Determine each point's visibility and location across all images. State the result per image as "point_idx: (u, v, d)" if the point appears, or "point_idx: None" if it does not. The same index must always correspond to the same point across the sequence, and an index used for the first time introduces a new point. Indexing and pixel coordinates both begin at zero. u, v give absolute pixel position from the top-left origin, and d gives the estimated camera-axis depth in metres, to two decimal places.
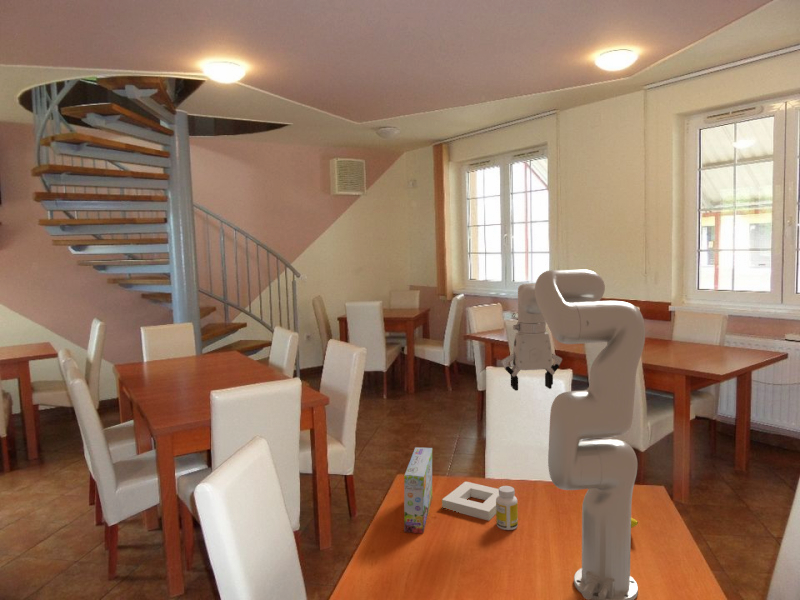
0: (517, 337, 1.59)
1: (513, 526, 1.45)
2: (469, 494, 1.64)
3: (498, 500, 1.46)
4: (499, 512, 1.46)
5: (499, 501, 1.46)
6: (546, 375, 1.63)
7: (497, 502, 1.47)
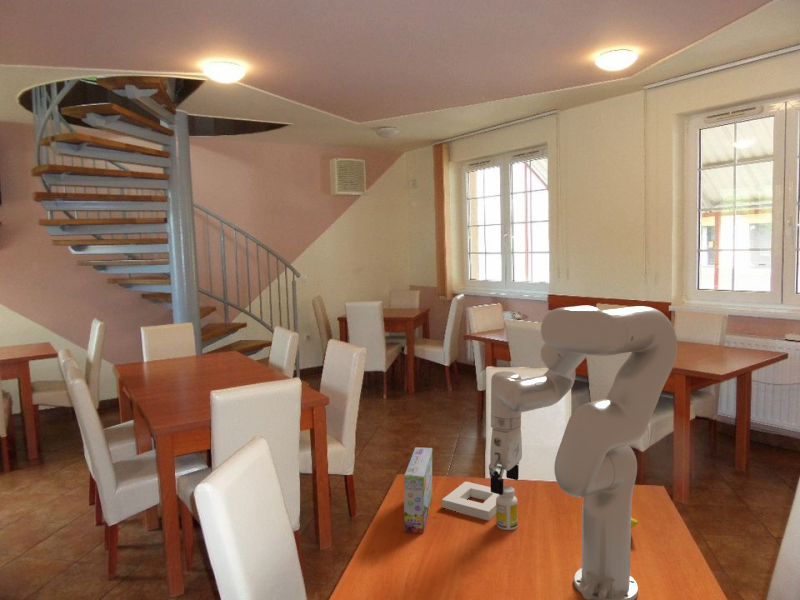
0: (503, 435, 1.41)
1: (513, 526, 1.45)
2: (469, 494, 1.64)
3: (498, 500, 1.46)
4: (499, 512, 1.46)
5: (499, 501, 1.46)
6: None
7: (497, 502, 1.47)
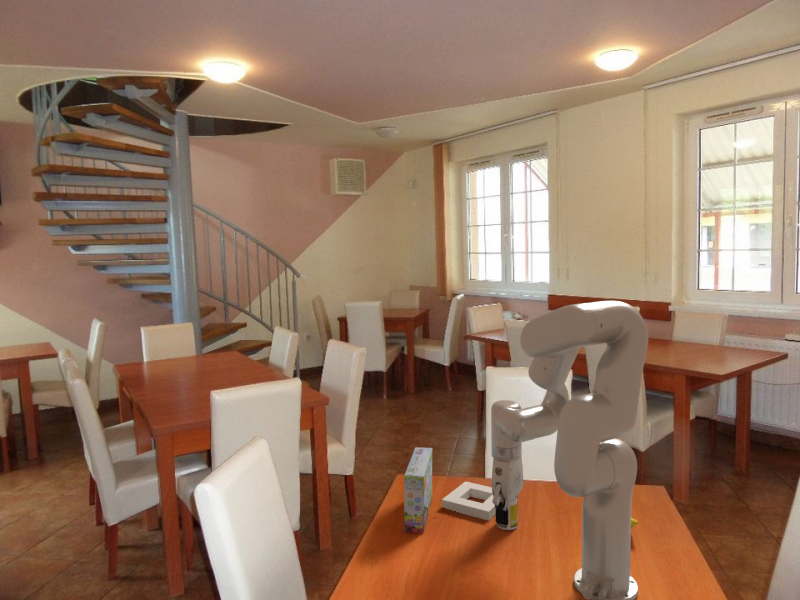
0: (504, 465, 1.42)
1: (513, 526, 1.45)
2: (469, 494, 1.64)
3: None
4: None
5: None
6: None
7: None
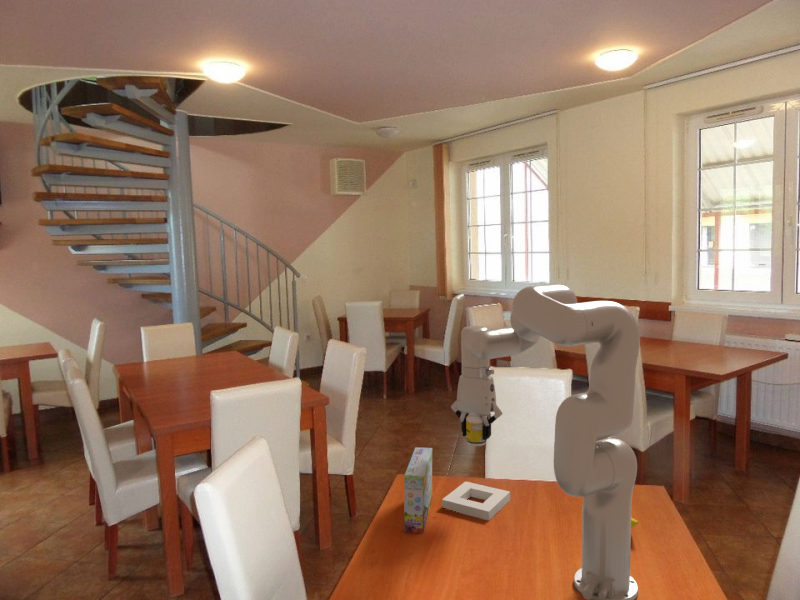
0: None
1: None
2: (469, 494, 1.64)
3: (480, 419, 1.55)
4: None
5: (482, 419, 1.56)
6: None
7: (480, 422, 1.55)
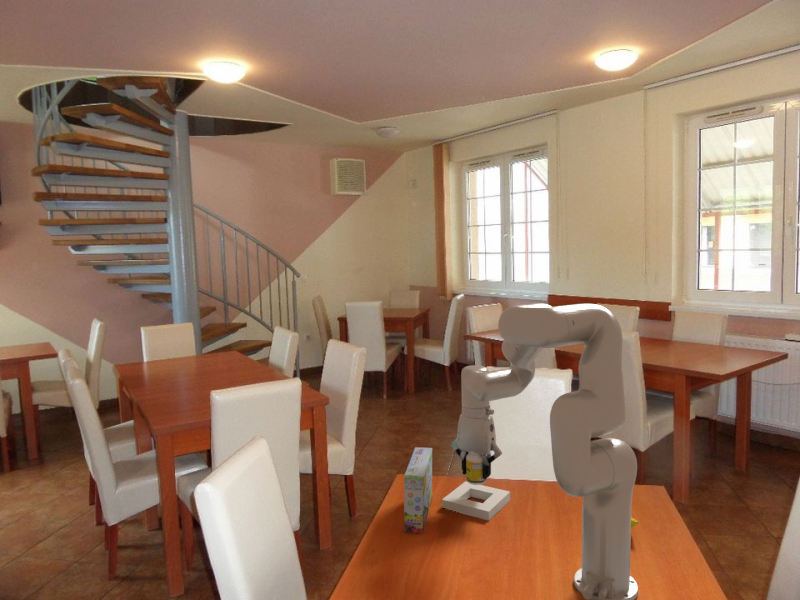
0: (492, 420, 1.57)
1: None
2: (469, 494, 1.64)
3: (480, 459, 1.57)
4: None
5: (482, 459, 1.57)
6: None
7: (480, 461, 1.57)
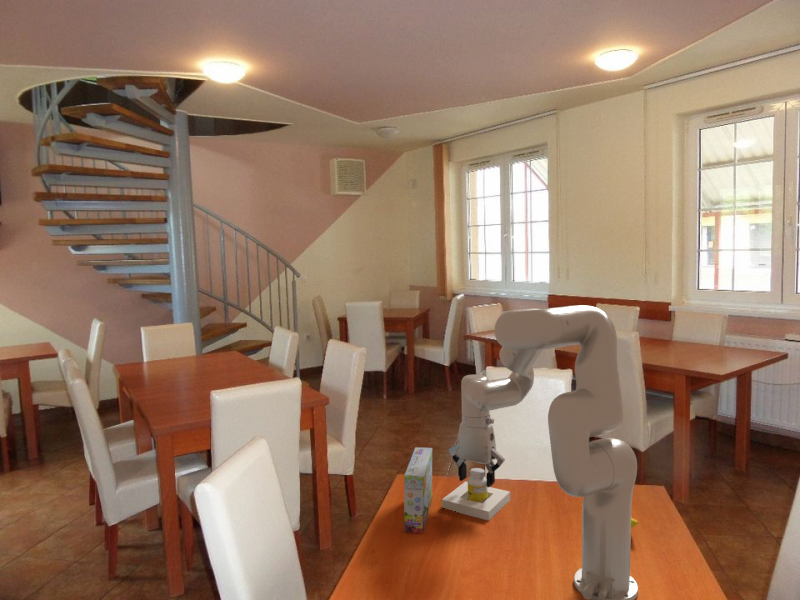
0: (492, 429, 1.57)
1: None
2: None
3: (481, 482, 1.57)
4: (484, 492, 1.58)
5: (483, 482, 1.57)
6: (463, 468, 1.61)
7: (481, 485, 1.57)
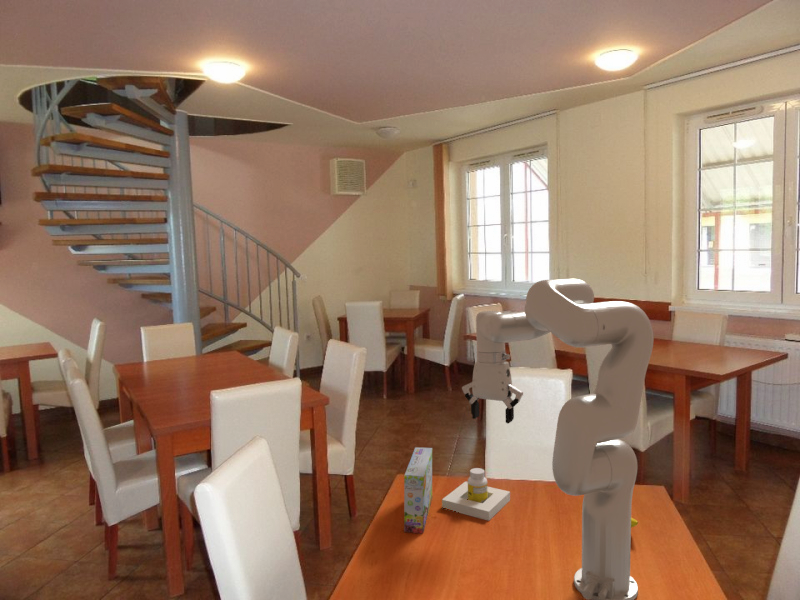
0: (508, 365, 1.54)
1: None
2: None
3: (481, 483, 1.57)
4: (484, 492, 1.58)
5: (483, 482, 1.57)
6: (476, 405, 1.58)
7: (481, 485, 1.57)
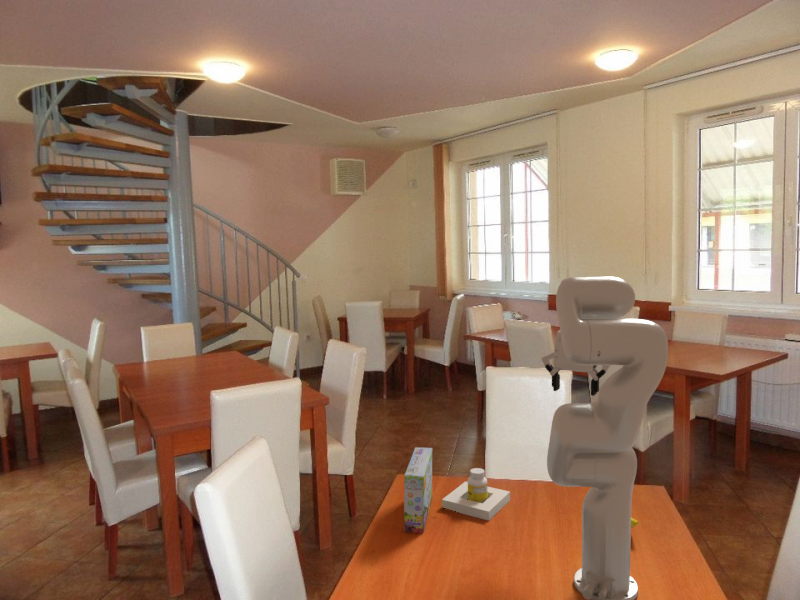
0: None
1: None
2: None
3: (481, 482, 1.57)
4: (484, 492, 1.58)
5: (483, 482, 1.57)
6: (557, 377, 1.51)
7: (481, 485, 1.57)
